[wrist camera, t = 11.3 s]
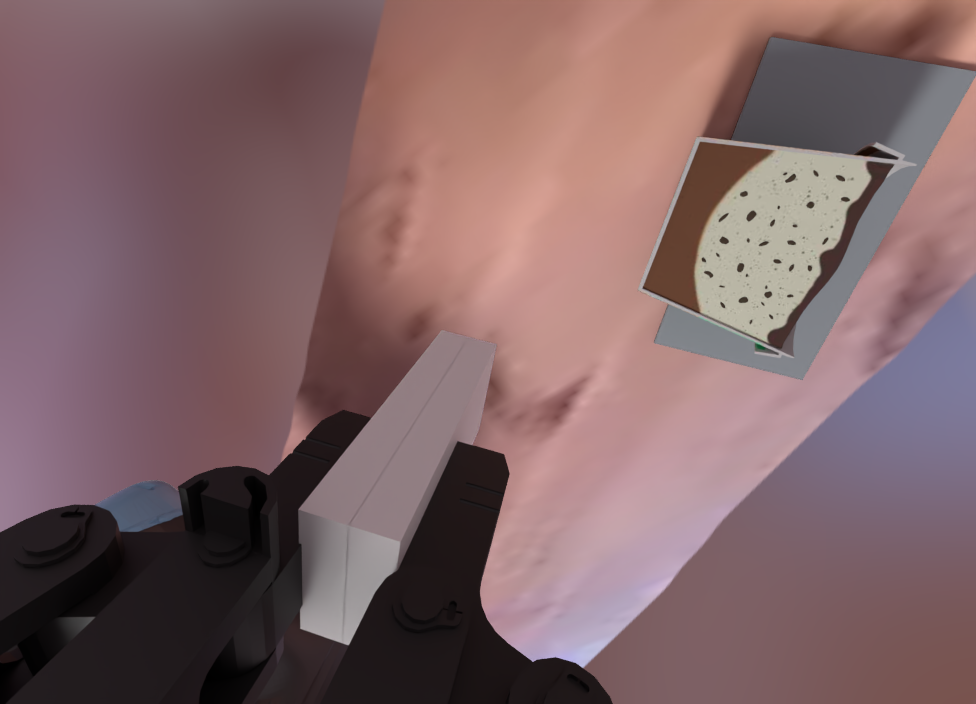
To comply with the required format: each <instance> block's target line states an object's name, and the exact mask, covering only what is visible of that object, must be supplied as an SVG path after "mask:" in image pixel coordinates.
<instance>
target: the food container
mask: <svg viewBox="0 0 976 704" xmlns="http://www.w3.org/2000/svg"><path fill="white" fill-rule="evenodd" d="M904 157H905V155H904V154H901V153H899V152H897V151H895V150H893V149H890V148H888V147H886V146H884V145H881V144H879V143H877V142H874V143H870V144H868V145H865V146H864V147H862V148H861V149H860V150H858V151H857V152H856V153H855V154H853V155H851V154H842V153H834V152H825V151H817V150H809V149H800V148H792V147H783V146H775V145H766V144H758V143H750V142H741V141H733V140H724V139H716V138H708V137H699V136H697V138H696V141H695V143H694V146H693V148H692V151H691V154H690V156H689V159H688V161H687V164H686V166H685V169H684V172H683V174H682V177H681V179H680V182H679V185H678V187H677V190H676V192H675V195H674V197H673V200H672V203H671V205H670V208H669V210H668V213H667V216H666V218H665V221H664V223H663V226H662V229H661V231H660V234H659V236H658V239H657V241H656V244H655V247H654V249H653V252H652V254H651V257H650V260H649V262H648V265H647V267H646V270H645V273H644V275H643V278H642V280H641V283H640V285H639V288H638V291H640V292H642V293H645V294H647V295H649V296H651V297H654V298H656V299H658V300H660V301H663V302H665V303H667V304H669V305H672V306H674V307H676V308H678V309H681V310H683V311H685V312H687V313H690V314H692V315H694V316H696V317H699V318H701V319H703V320H705V321H708V322H710V323H712V324H714V325H717V326H719V327H721V328H723V329H726V330H728V331H730V332H732V333H735V334H737V335H739V336H741V337H744V338H746V339H748V340H750V341H753V342H755V344H754V353H755V354H759V355H765V356H771V357H777V358H781V356H782V355H784V356H787V357H791V358H794V352H793V340H794V333H795V328H796V324H797V321H798V319H799V317H800V316H801V314H802V313H803V311H804V310H805V309H806V307H807V306H808V305H809V303H810V302H811V301H812V300H813V298H814V297H815V296H816V295H817V294H818V293H819V292H820V290H821V289H822V288H823V287H824V286H825V285H826V283H827V282H828V281H829V280H830V278H831V277H832V276H833V274H834V273H835V272H836V271H837V269H838V267H839V266H840V264H841V262H842V260H843V257H844V255H845V253H846V251H847V248H848V246H849V243H850V241H851V239H852V236H853V234H854V231H855V229H856V226H857V224H858V221H859V220H860V218H861V216H862V215H863V213H864V211H865V209H866V208H867V206H868V204H869V203H870V201H871V199H872V198H873V196H874V194H875V193H876V192H877V190H878V189H879V187H880V186H881V185H882V183H883V182H884V180H885V179H886V178H887V177H889V176H890V175H891V174H893V173H894V172H896V171H898V170H900V169H901V168H905V167H908V166H916V165H917V164H914V163H910V162H907V161H903V158H904Z"/></svg>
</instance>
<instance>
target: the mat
mask: <svg viewBox="0 0 976 704" xmlns="http://www.w3.org/2000/svg"><path fill="white" fill-rule="evenodd" d="M975 76H976V71H971V70H965V69H959V68H953V67H947V66H941V65H935V64H929V63H923V62H917V61H911V60H905V59H900V58H894V57H888V56H882V55H876V54H870V53H864V52H858V51H852V50H846V49H840V48H834V47H829V46H823V45H817V44H811V43H805V42H799V41H793V40H787V39H781V38H775V37H770V38H769V41H768V44H767V46H766V49H765V51H764V54H763V57H762V59H761V62H760V65H759V67H758V70H757V72H756V75H755V78H754V80H753V83H752V86H751V88H750V91H749V93H748V96H747V99H746V101H745V104H744V107H743V109H742V112H741V114H740V117H739V120H738V122H737V125H736V128H735V130H734V133H733V135H732V138H731V140H733V141H741V142H750V143H758V144H766V145H775V146H783V147H792V148H800V149H809V150H817V151H825V152H834V153H842V154H851V155H853V154H855V153H856V152H857V151H858V150H860V149H861V148H862V147H864V146H865V145H868V144H870V143H874V142H877V143H879V144H881V145H884V146H886V147H888V148H890V149H893V150H895V151H897V152H899V153H901V154H904V155H905V157H904V158H903V161H907V162H910V163H914V164H917V165H916V166H908V167H905V168H901V169H900V170H898V171H896V172H894V173H893V174H891V175H890V176H889V177H887V178H886V179H885V180H884V182H883V183H882V185H881V186H880V187H879V189H878V190H877V192H876V193H875V194H874V196H873V198H872V199H871V201H870V203H869V204H868V206H867V208H866V209H865V211H864V213H863V215H862V216H861V218H860V220H859V221H858V224H857V226H856V229H855V231H854V234H853V236H852V239H851V241H850V243H849V246H848V248H847V251H846V253H845V255H844V257H843V260H842V262H841V264H840V266H839V267H838V269H837V271H836V272H835V273H834V274H833V276H832V277H831V278H830V280H829V281H828V282H827V283H826V285H825V286H824V287H823V288H822V289H821V290H820V292H819V293H818V294H817V295H816V296H815V297H814V298H813V300H812V301H811V302H810V303H809V305H808V306H807V307H806V309H805V310H804V311H803V313H802V314H801V316H800V317H799V319H798V321H797V324H796V328H795V333H794V340H793V352H794V358H791V357H787V356H784V355H782V356H781V358H777V357H771V356H765V355H759V354H755V353H754V344H755V342H753V341H750V340H748V339H746V338H744V337H741V336H739V335H737V334H735V333H732V332H730V331H728V330H726V329H723V328H721V327H719V326H717V325H714V324H712V323H710V322H708V321H705V320H703V319H701V318H699V317H696V316H694V315H692V314H690V313H687V312H685V311H683V310H681V309H678V308H676V307H674V306H672V305H669V304H668V306H667V309H666V311H665V314H664V316H663V319H662V322H661V324H660V327H659V330H658V332H657V335H656V337H655V340H654V343H656V344H660V345H664V346H668V347H672V348H676V349H680V350H684V351H688V352H692V353H696V354H700V355H704V356H708V357H712V358H716V359H720V360H724V361H728V362H732V363H736V364H740V365H744V366H748V367H752V368H756V369H760V370H764V371H768V372H772V373H776V374H780V375H784V376H788V377H792V378H796V379H800V380H803V378H804V376H805V374H806V373H807V371H808V369H809V367H810V366H811V364H812V362H813V360H814V359H815V357H816V355H817V353H818V352H819V350H820V348H821V346H822V345H823V343H824V341H825V339H826V338H827V336H828V334H829V332H830V331H831V329H832V327H833V325H834V324H835V322H836V320H837V318H838V317H839V315H840V313H841V311H842V310H843V308H844V306H845V304H846V303H847V301H848V299H849V297H850V295H851V294H852V292H853V290H854V288H855V287H856V285H857V283H858V281H859V280H860V278H861V276H862V274H863V273H864V271H865V269H866V267H867V266H868V264H869V262H870V260H871V259H872V257H873V255H874V253H875V252H876V250H877V248H878V246H879V245H880V243H881V241H882V239H883V238H884V236H885V234H886V232H887V231H888V229H889V227H890V225H891V224H892V222H893V220H894V218H895V217H896V215H897V213H898V211H899V210H900V208H901V206H902V204H903V203H904V201H905V199H906V197H907V196H908V194H909V192H910V190H911V189H912V187H913V185H914V183H915V181H916V180H917V178H918V176H919V174H920V173H921V171H922V169H923V167H924V166H925V164H926V162H927V160H928V159H929V157H930V155H931V153H932V152H933V150H934V148H935V146H936V145H937V143H938V141H939V139H940V138H941V136H942V134H943V132H944V131H945V129H946V127H947V125H948V124H949V122H950V120H951V118H952V117H953V115H954V113H955V111H956V110H957V108H958V106H959V104H960V103H961V101H962V99H963V97H964V96H965V94H966V92H967V90H968V89H969V87H970V85H971V83H972V82H973V80H974V78H975Z"/></svg>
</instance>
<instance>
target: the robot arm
mask: <svg viewBox="0 0 976 704" xmlns="http://www.w3.org/2000/svg"><path fill="white" fill-rule="evenodd" d="M496 346H497V344H494V343H490V342H486V341H483V340H479V339H475V338H471V337H467V336H463V335H459V334H456V333H452V332H448V331H444V330H441V332H440V333H439V334H438V335H437V337H436V338H435V339H434V340H433V342H432V343H431V344H430V345H429V347H428V348H427V349H426V350H425V352H424V353H423V354H422V355H421V357H420V358H419V359H418V360H417V362H416V363H415V364H414V365H413V367H412V368H411V369H410V370H409V372H408V373H407V374H406V375H405V377H404V378H403V379H402V380H401V382H400V383H399V384H398V385H397V387H396V388H395V389H394V391H393V392H392V393H391V394H390V396H389V397H388V398H387V399H386V401H385V402H384V403H383V404H382V406H381V407H380V408H379V409H378V411H377V412H376V413H375V414H374V416H373V417H372V418H370V417H366V416H363V415H359V414H356V413H352V412H349V411H345V410H342V411H340V412H338V413H336V414H334V415H332V416H330V417H328V418H326V419H324V420H322V421H321V422H320V423H319V424H318V425H317V426H316V427H315V428H314V429H313V430H312V431H311V432H310V433H309V434H308V435H307V436H306V439H305V440H303V441H302V442H301V443H300V444H299V445H298V446H297V447H296V448H295V449H294V451H293V453H292V454H291V453H290V454H289V455H288V456H287V457H286V458H285V459H284V460H283V461H282V462H281V463H280V464H279V466H278V467H277V468H276V469H275V470H274V471H273V472H272V473H271V474H270V475H267V474H265V473H263V472H261V471H259V470H257V469H254V468H248V467H241V466H232V467H223V468H216V469H213V470H210V471H207V472H204V473H201V474H198V475H196V476H194V477H193V478H191V479H189V480H188V481H186V482H185V483H183V484H182V485H180V486H178V490H179V491H178V490H176V489H175V488H174V487H172V486H171V485H170V484H168V483H165V482H163V481H157V480H151V481H144V482H140V483H137V484H134V485H132V486H130V487H127V488H125V489H123V490H121V491H119V492H117V493H115V494H114V495H112V496H110V497H108V498H106V499H104V500H103V501H101V502H99V503H97V504H96V505H70V506H65V507H61V508H55V509H51V510H48V511H45V512H43V513H40V514H38V515H36V516H33V517H31V518H28V519H26V520H24V521H22V522H20V523H18V524H16V525H14V526H12V527H10V528H8V529H6V530H4V531H2V532H0V704H613V703H612V701H611V698H610V696H609V695H608V694H607V692H606V691H605V690H604V689H603V687H602V686H601V685H600V683H599V682H598V681H597V679H596V678H595V677H594V676H593V675H591V674H590V673H589V672H587V671H586V670H584V669H583V668H582V667H580V666H579V665H578V664H576V663H573V662H570V661H566V660H563V659H560V658H556V657H555V658H547V659H540V660H536V661H534V662H532V661H531V660H530V659H528V658H527V657H526V656H524V655H523V654H522V653H520V652H519V651H518V650H516V649H515V648H514V647H512V646H511V645H510V644H508V643H507V642H506V641H505V640H504V639H503V638H502V637H501V636H500V635H498V634H497V633H496V632H495V630H494V629H493V627H492V626H491V624H490V623H489V621H488V620H487V618H486V615H485V613H484V610H483V608H482V605H481V597H480V586H481V581H482V577H483V573H484V569H485V566H486V562H487V558H488V554H489V551H490V547H491V543H492V539H493V536H494V532H495V528H496V524H497V520H498V516H499V513H500V509H501V505H502V501H503V497H504V493H505V489H506V486H507V482H508V478H509V470H508V466H507V463H506V459H505V456H504V454H501V453H498V452H494V451H491V450H487V449H484V448H480V447H477V446H473V443H474V440H475V438H476V435H477V433H478V431H479V428H480V423H481V418H482V413H483V409H484V404H485V399H486V394H487V389H488V385H489V380H490V375H491V370H492V365H493V360H494V356H495V351H496Z"/></svg>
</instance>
